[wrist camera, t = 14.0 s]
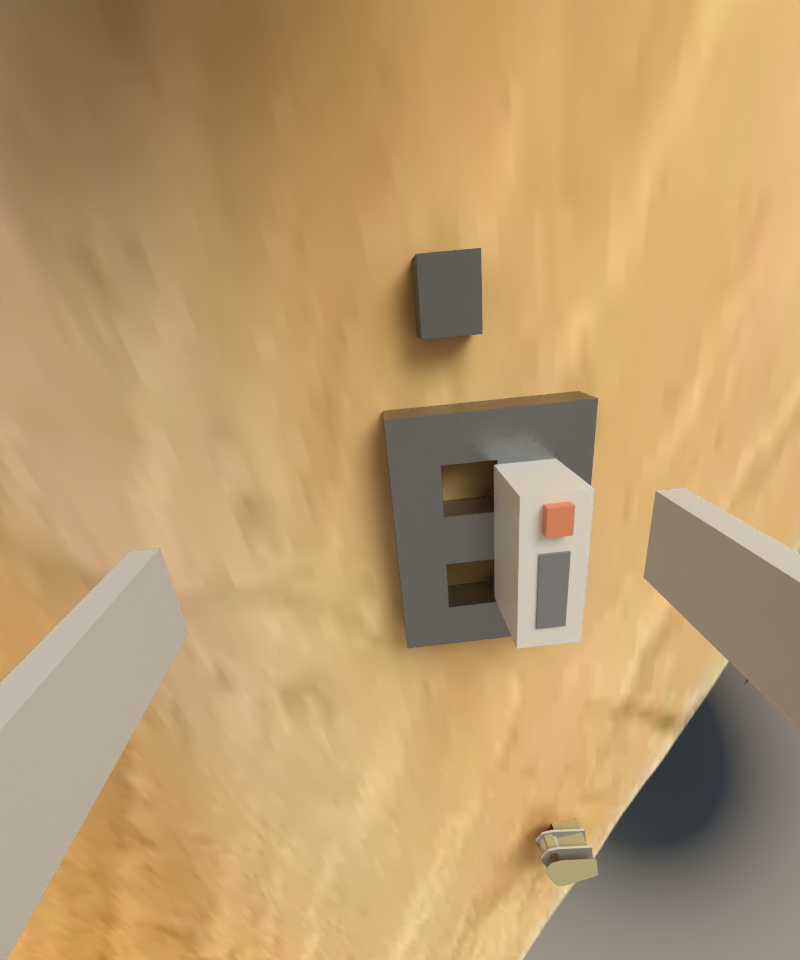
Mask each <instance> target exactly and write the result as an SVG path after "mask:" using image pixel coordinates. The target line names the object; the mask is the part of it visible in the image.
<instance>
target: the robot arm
mask: <svg viewBox="0 0 800 960" xmlns="http://www.w3.org/2000/svg"><path fill="white" fill-rule="evenodd" d="M644 578H645V579H646V580H647V581H648V582H649V583H650V584H651V585H652V586H653V587H654V588H655V589H656V590H657V591H658V592H659V593H660V594H661V595H662V596H663V597H664V598H665V599H666V600H667V601H668V602H669V603H670V604H671V605H672V606H673V607H674V608H675V609H676V610H677V611H678V612H679V613H680V614H681V615H683V616H684V617H685V618H686V619H687V620H688V621H689V622H690V623H691V624H692V625H693V626H694V627H695V628H696V629H697V630H698V631H699V632H700V633H701V634H702V635H703V636H704V637H705V638H706V639H707V640H708V641H709V642H710V643H711V644H712V645H713V646H714V647H715V648H716V649H717V650H718V651H719V652H720V653H721V654H722V655H723V656H724V657H725V658H726V659H727V660H728V661H730V662H731V663H732V664H733V665H734V666H735V667H736V668H737V669H738V670H739V671H740V672H741V673H742V674H743V675H744V676H745V677H746V678H747V679H748V680H749V681H750V682H751V683H752V684H753V685H754V686H755V687H756V688H757V689H758V690H759V691H760V692H761V693H762V694H763V695H764V696H765V697H766V698H767V699H768V700H769V701H770V702H771V703H772V704H773V705H774V706H776V707H777V708H778V709H779V710H780V711H781V712H782V713H783V714H784V715H785V716H786V717H787V718H788V719H789V720H790V721H791V722H792V723H793V724H794V725H795V726H796V727H797V728H798V729H799V730H800V553H798V552H796V551H795V550H793V549H791V548H789V547H787V546H786V545H784V544H782V543H780V542H779V541H777V540H775V539H773V538H772V537H770V536H768V535H766V534H765V533H763V532H761V531H759V530H758V529H756V528H754V527H752V526H751V525H749V524H747V523H745V522H743V521H742V520H740V519H738V518H736V517H735V516H733V515H731V514H729V513H728V512H726V511H724V510H722V509H721V508H719V507H717V506H715V505H714V504H712V503H710V502H708V501H707V500H705V499H703V498H701V497H699V496H698V495H696V494H694V493H692V492H691V491H689V490H687V489H685V488H676V489H667V490H659V491H656V493H655V500H654V507H653V514H652V521H651V528H650V536H649V543H648V550H647V557H646V564H645V571H644ZM188 634H189V630H188V627H187V624H186V622H185V619H184V616H183V613H182V610H181V607H180V604H179V602H178V599H177V596H176V593H175V590H174V587H173V585H172V582H171V579H170V576H169V573H168V570H167V567H166V565H165V562H164V559H163V556H162V553H161V550H160V548H157V549H148V550H139V551H131V552H129V553H128V554H127V555H126V556H125V557H124V558H123V559H122V560H121V561H120V562H119V563H118V564H117V565H116V566H115V567H114V568H113V569H112V570H111V571H110V572H109V573H108V574H107V575H106V576H105V577H104V578H103V579H102V580H101V581H100V582H99V583H98V584H97V585H96V586H95V587H94V588H93V589H92V590H91V591H90V592H89V593H88V595H87V596H86V597H85V598H84V599H83V600H82V601H81V602H80V603H79V604H78V605H77V606H76V607H75V608H74V609H73V610H72V611H71V612H70V613H69V614H68V615H67V616H66V617H65V618H64V619H63V620H62V621H61V622H60V623H59V624H58V625H57V626H56V627H55V628H54V629H53V630H52V631H51V632H50V633H49V634H48V635H47V636H46V637H45V638H44V639H43V640H42V641H41V642H40V643H39V644H38V645H37V646H36V647H35V648H34V649H33V650H32V651H31V652H30V653H29V654H28V655H27V656H26V657H25V658H24V659H23V660H22V661H21V662H20V663H19V664H18V665H17V666H16V667H15V668H14V669H13V670H12V671H11V673H10V674H9V675H8V676H7V677H6V678H5V679H4V680H3V681H2V682H1V683H0V960H7V959H8V957H9V955H10V954H11V952H12V950H13V948H14V946H15V945H16V943H17V941H18V939H19V937H20V936H21V934H22V932H23V930H24V928H25V927H26V925H27V923H28V921H29V919H30V918H31V916H32V914H33V912H34V910H35V909H36V907H37V905H38V903H39V901H40V900H41V898H42V896H43V894H44V892H45V891H46V889H47V887H48V885H49V883H50V882H51V880H52V878H53V876H54V874H55V873H56V871H57V869H58V867H59V866H60V864H61V862H62V860H63V858H64V857H65V855H66V853H67V851H68V849H69V848H70V846H71V844H72V842H73V840H74V839H75V837H76V835H77V833H78V831H79V830H80V828H81V826H82V824H83V822H84V821H85V819H86V817H87V815H88V813H89V812H90V810H91V808H92V806H93V804H94V803H95V801H96V799H97V797H98V795H99V794H100V792H101V790H102V788H103V786H104V785H105V783H106V781H107V779H108V778H109V776H110V774H111V772H112V770H113V769H114V767H115V765H116V763H117V761H118V760H119V758H120V756H121V754H122V752H123V751H124V749H125V747H126V745H127V743H128V742H129V740H130V738H131V736H132V734H133V733H134V731H135V729H136V727H137V725H138V724H139V722H140V720H141V718H142V716H143V715H144V713H145V711H146V709H147V707H148V706H149V704H150V702H151V700H152V698H153V697H154V695H155V693H156V691H157V689H158V688H159V686H160V684H161V682H162V681H163V679H164V677H165V675H166V673H167V672H168V670H169V668H170V666H171V664H172V663H173V661H174V659H175V657H176V655H177V654H178V652H179V650H180V648H181V646H182V645H183V643H184V641H185V639H186V637H187V636H188Z"/></svg>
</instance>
